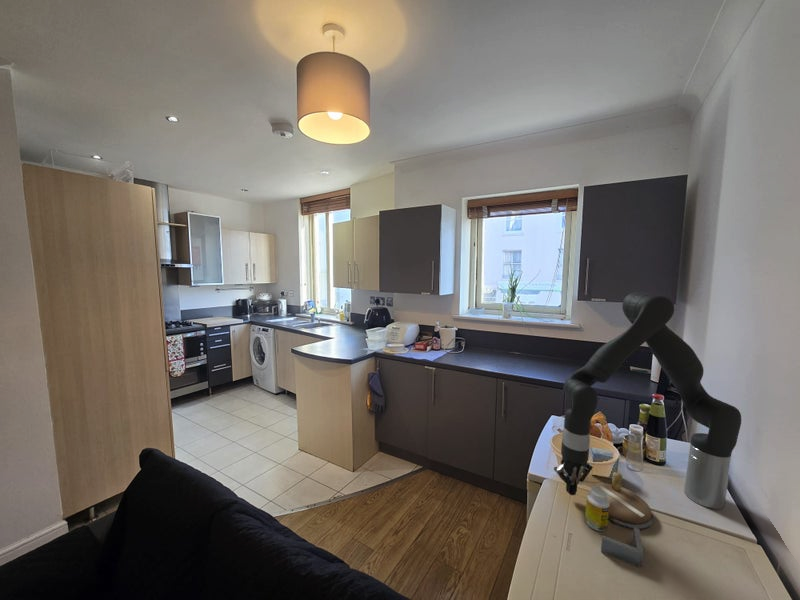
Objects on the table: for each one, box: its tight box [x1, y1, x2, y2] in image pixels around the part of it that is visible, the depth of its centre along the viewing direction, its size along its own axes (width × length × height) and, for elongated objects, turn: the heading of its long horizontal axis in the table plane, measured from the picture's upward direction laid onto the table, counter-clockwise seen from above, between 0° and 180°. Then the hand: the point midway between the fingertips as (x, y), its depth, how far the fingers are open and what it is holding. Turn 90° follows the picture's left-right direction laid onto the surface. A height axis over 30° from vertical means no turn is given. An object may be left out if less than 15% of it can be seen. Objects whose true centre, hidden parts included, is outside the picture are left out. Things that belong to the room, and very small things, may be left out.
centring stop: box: [600, 528, 644, 568], centre depth 82 cm, size 12×6×4 cm, turn 104°
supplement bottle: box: [584, 487, 610, 532], centre depth 91 cm, size 6×6×10 cm
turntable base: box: [589, 491, 654, 531], centre depth 98 cm, size 16×16×1 cm
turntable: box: [592, 472, 652, 525], centre depth 97 cm, size 15×15×6 cm
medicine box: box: [588, 446, 620, 480], centre depth 112 cm, size 8×4×9 cm, turn 71°
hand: (571, 493), depth 101 cm, fingers closed
